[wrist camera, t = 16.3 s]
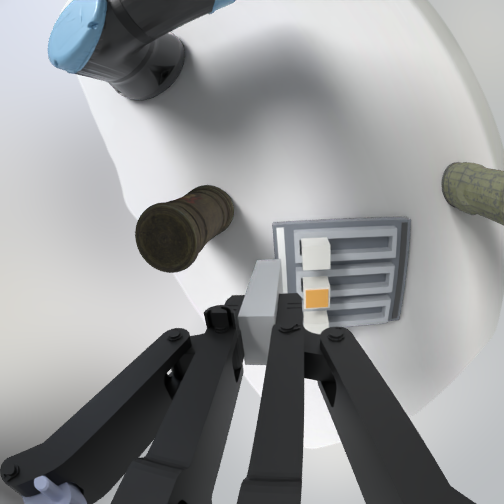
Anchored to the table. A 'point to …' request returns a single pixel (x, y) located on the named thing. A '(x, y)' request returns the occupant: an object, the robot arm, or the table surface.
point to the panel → (346, 267)
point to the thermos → (475, 190)
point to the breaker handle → (316, 292)
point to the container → (182, 227)
